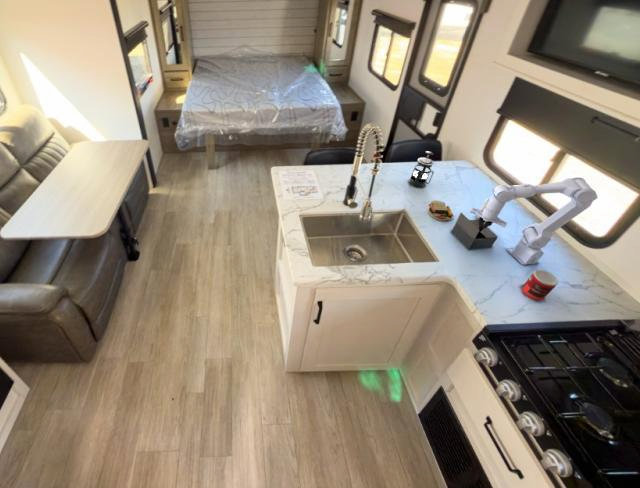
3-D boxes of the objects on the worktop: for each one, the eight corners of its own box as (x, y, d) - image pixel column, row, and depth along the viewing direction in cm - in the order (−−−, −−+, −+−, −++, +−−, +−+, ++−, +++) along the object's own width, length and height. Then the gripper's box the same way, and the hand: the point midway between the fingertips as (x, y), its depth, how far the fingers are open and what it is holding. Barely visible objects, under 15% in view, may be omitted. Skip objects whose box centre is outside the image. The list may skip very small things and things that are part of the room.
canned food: (533, 285, 141) (547, 269, 134) (548, 301, 134) (563, 284, 128) (516, 285, 140) (529, 269, 134) (530, 301, 134) (545, 285, 127)
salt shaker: (487, 223, 173) (499, 204, 166) (476, 221, 174) (487, 203, 167) (483, 216, 178) (494, 197, 170) (472, 214, 179) (482, 196, 171)
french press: (405, 183, 204) (417, 152, 191) (411, 177, 210) (422, 146, 196) (424, 190, 198) (438, 159, 184) (429, 184, 203) (443, 153, 189)
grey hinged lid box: (491, 246, 159) (498, 236, 155) (468, 249, 158) (474, 239, 154) (473, 229, 170) (478, 219, 165) (451, 231, 168) (456, 221, 164)
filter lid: (479, 230, 150) (479, 230, 150) (474, 239, 154) (474, 239, 154) (461, 212, 161) (460, 212, 160) (456, 221, 164) (456, 221, 164)
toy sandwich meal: (430, 220, 176) (433, 213, 173) (424, 205, 186) (427, 198, 183) (455, 223, 173) (458, 216, 171) (448, 207, 184) (451, 201, 181)
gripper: (472, 204, 149) (460, 226, 157) (508, 220, 140) (494, 242, 148) (478, 198, 152) (466, 219, 160) (513, 213, 143) (499, 235, 151)
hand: (480, 230), depth 154 cm, fingers closed
